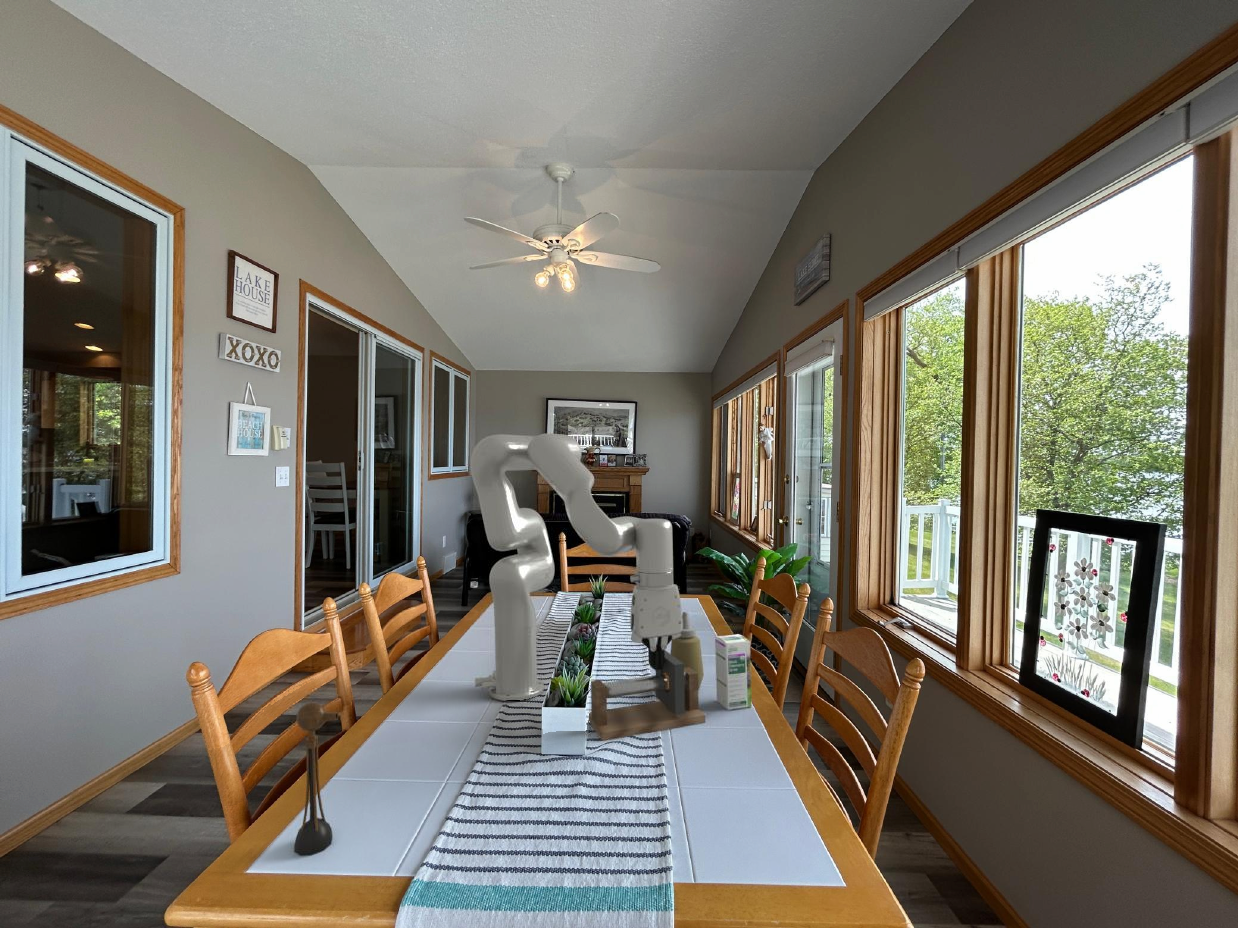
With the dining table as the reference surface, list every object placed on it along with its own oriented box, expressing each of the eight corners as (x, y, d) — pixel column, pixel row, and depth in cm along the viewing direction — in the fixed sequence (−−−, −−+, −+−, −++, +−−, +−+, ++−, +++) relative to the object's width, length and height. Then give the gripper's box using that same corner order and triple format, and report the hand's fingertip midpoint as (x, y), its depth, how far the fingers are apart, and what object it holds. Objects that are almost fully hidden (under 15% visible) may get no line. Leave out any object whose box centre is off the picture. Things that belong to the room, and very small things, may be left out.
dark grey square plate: (675, 715, 119) (674, 664, 119) (656, 696, 129) (655, 650, 129) (684, 713, 120) (683, 663, 120) (664, 695, 129) (663, 649, 129)
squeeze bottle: (663, 693, 137) (662, 614, 137) (676, 681, 144) (675, 606, 144) (696, 699, 133) (695, 618, 133) (708, 686, 140) (707, 610, 140)
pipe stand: (602, 740, 114) (601, 693, 114) (587, 719, 123) (586, 675, 123) (705, 722, 121) (704, 677, 121) (684, 703, 131) (683, 662, 131)
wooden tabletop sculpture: (345, 833, 87) (343, 695, 87) (331, 854, 82) (328, 708, 82) (304, 834, 86) (301, 696, 86) (287, 855, 82) (284, 709, 82)
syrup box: (727, 710, 127) (726, 642, 127) (715, 700, 132) (714, 634, 132) (751, 707, 128) (750, 639, 128) (739, 697, 134) (738, 632, 134)
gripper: (627, 585, 117) (629, 679, 117) (695, 579, 122) (697, 669, 122) (614, 578, 124) (616, 667, 124) (680, 573, 129) (681, 658, 129)
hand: (656, 667), depth 123 cm, fingers closed
